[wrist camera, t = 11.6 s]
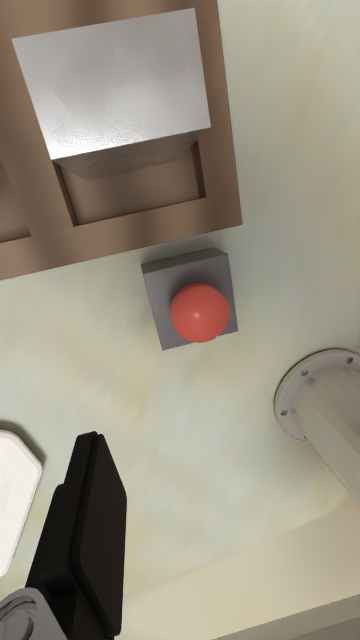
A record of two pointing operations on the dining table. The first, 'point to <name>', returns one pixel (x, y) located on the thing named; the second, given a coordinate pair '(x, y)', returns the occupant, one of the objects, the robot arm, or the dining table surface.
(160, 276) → the button housing
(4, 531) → the plate
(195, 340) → the button
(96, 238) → the wooden sorting tray
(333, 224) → the dining table surface
